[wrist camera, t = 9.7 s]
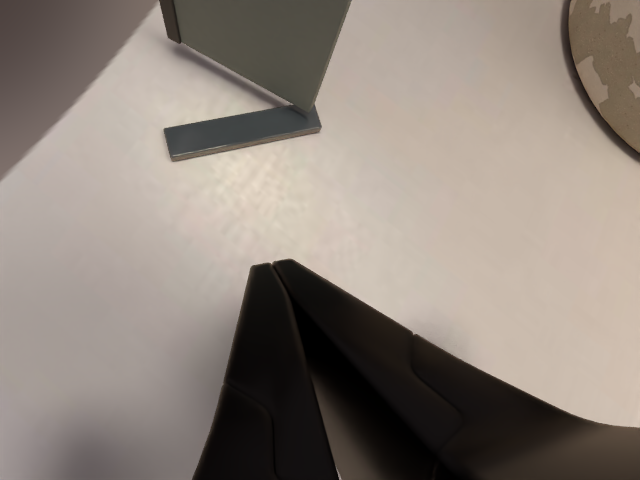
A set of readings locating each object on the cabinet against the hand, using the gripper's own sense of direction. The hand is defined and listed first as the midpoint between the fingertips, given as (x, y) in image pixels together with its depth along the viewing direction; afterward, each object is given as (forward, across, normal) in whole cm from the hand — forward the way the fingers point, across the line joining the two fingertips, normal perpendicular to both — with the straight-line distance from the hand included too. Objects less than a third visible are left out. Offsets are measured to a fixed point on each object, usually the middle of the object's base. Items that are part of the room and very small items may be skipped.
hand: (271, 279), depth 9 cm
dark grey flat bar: (+15, -2, +2) cm, 15 cm away
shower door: (+16, -2, -1) cm, 16 cm away
